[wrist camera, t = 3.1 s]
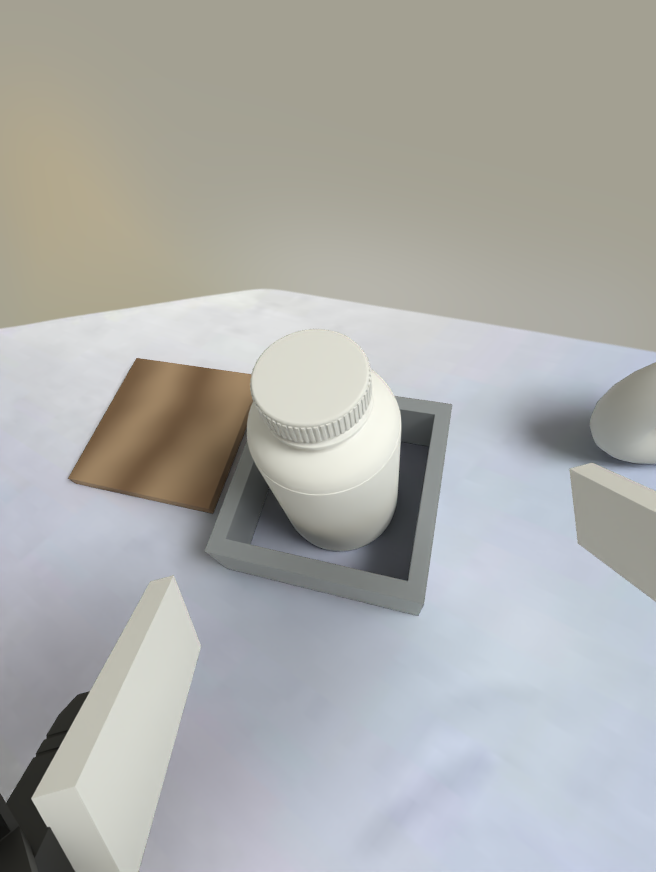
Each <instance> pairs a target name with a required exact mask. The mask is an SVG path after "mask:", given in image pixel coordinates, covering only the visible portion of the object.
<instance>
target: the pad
mask: <svg viewBox="0 0 656 872" xmlns="http://www.w3.org/2000/svg"><path fill="white" fill-rule="evenodd" d="M250 379H251V374H245V373H238V372H231V371H224V370H217V369H210V368H203V367H196V366H189V365H182V364H175V363H168V362H161V361H154V360H147V359H140V358H136V360H135V362H134V363H133V365H132V367H131V369H130V371H129V372H128V374H127V376H126V378H125V379H124V381H123V383H122V385H121V386H120V388H119V390H118V392H117V393H116V395H115V397H114V399H113V400H112V402H111V404H110V406H109V407H108V409H107V411H106V413H105V414H104V416H103V418H102V420H101V421H100V423H99V425H98V427H97V428H96V430H95V432H94V434H93V435H92V437H91V439H90V441H89V442H88V444H87V446H86V448H85V449H84V451H83V453H82V455H81V456H80V458H79V460H78V462H77V463H76V465H75V467H74V469H73V470H72V472H71V474H70V476H69V477H68V479H70V480H71V481H73V482H74V483H76V484H80V485H85V486H89V487H94V488H98V489H103V490H108V491H112V492H117V493H121V494H126V495H130V496H135V497H139V498H144V499H148V500H153V501H158V502H162V503H167V504H171V505H176V506H180V507H185V508H189V509H194V510H198V511H203V512H208V513H212V514H213V513H214V510H215V507H216V505H217V502H218V500H219V497H220V495H221V492H222V489H223V487H224V484H225V482H226V479H227V477H228V474H229V471H230V469H231V466H232V464H233V461H234V458H235V456H236V453H237V451H238V448H239V446H240V443H241V440H242V438H243V435H244V433H245V430H246V428H247V421H248V415H249V411H250V408H251V405H252V403H253V399H252V396H251V391H250V382H251V381H250Z"/></svg>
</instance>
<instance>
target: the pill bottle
mask: <svg viewBox="0 0 656 872" xmlns="http://www.w3.org/2000/svg"><path fill="white" fill-rule="evenodd" d="M250 381H251V382H250V391H251V396H252V399H253V403H252V405H251V408H250V411H249V415H248V421H247V442H248V447H249V450H250V453H251V456H252V458H253V460H254V462H255V464H256V466H257V468H258V469H259V471H260V472H261V474H262V476H263V477H264V479H265V481H266V482H267V484H268V486H269V487H270V489H271V490H272V492H273V494H274V495H275V497H276V499H277V500H278V502H279V504H280V505H281V507H282V508H283V510H284V512H285V513H286V515H287V517H288V518H289V520H290V522H291V523H292V525H293V526H294V528H295V529H296V530H297V531H298V533H299V534H300V535H302V536H303V537H304V538H305V539H306V540H308V541H309V542H310V543H312V544H314V545H316V546H318V547H320V548H323V549H327V550H332V551H349V550H354V549H358V548H360V547H363V546H365V545H367V544H369V543H371V542H372V541H374V540H375V539H376V538H378V537H379V536H380V535H381V534H382V533H383V532H384V530H385V529H386V528H387V526H388V525H389V523H390V521H391V519H392V517H393V515H394V512H395V509H396V505H397V496H398V479H399V461H400V444H401V415H400V410H399V406H398V403H397V401H396V398H395V396H394V395H393V393H392V391H391V389H390V388H389V386H388V385H387V384H386V382H385V381H384V380H383V379H382V378H381V377H380V376H379V375H378V374H377V373H376V372H374V371H373V370H372V369H371V368H370V364H369V362H368V358H367V357H366V354H365V353H364V351H363V350H362V349H361V347H360V346H359V345H357V343H356V342H354V341H353V340H351V339H350V338H348V337H347V336H345V335H343V334H340V333H338V332H334V331H330V330H324V329H309V330H303V331H298V332H295V333H292V334H289V335H287V336H285V337H283V338H281V339H279V340H277V341H276V342H274V343H273V344H272V345H270V346H269V347H268V348H267V349H266V350H265V351H264V352H263V353H262V355H261V356H260V357H259V359H258V360H257V362H256V364H255V366H254V368H253V372H252V374H251V379H250Z"/></svg>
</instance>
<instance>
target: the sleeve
mask: <svg viewBox="0 0 656 872" xmlns="http://www.w3.org/2000/svg"><path fill="white" fill-rule="evenodd" d="M395 398H396V401H397V403H398V406H399V410H400V415H401V442H406V443H412V444H418V445H424V446H429V450H428V456H427V462H426V469H425V475H424V481H423V487H422V493H421V499H420V506H419V512H418V518H417V524H416V530H415V536H414V543H413V549H412V555H411V561H410V567H409V573H408V580H407V581H405V580H401V579H397V578H392V577H388V576H384V575H379V574H375V573H371V572H366V571H362V570H358V569H353V568H349V567H345V566H340V565H336V564H332V563H328V562H323V561H319V560H315V559H310V558H306V557H302V556H297V555H293V554H289V553H284V552H280V551H276V550H271V549H267V548H263V547H259V546H254V545H250V544H251V541H252V538H253V535H254V532H255V529H256V526H257V523H258V520H259V517H260V514H261V511H262V508H263V505H264V502H265V499H266V496H267V493H268V490H269V486H268V484H267V482H266V481H265V479H264V477H263V476H262V474H261V472H260V471H259V469H258V468H257V466H256V464H255V462H254V460H253V458H252V456H251V453H250V450H249V447H248V442H247V441H246V444H245V447H244V449H243V452H242V454H241V457H240V460H239V462H238V465H237V468H236V470H235V473H234V475H233V478H232V481H231V483H230V486H229V488H228V491H227V494H226V496H225V499H224V502H223V504H222V507H221V509H220V512H219V515H218V517H217V520H216V523H215V525H214V528H213V530H212V533H211V536H210V538H209V541H208V543H207V546H206V549H205V552H206V553H207V554H209V555H210V556H211V557H213V558H214V559H215V560H217V561H218V562H219V563H221V564H222V565H223V566H225V567H226V568H227V569H231V570H235V571H239V572H243V573H247V574H251V575H255V576H259V577H263V578H267V579H271V580H275V581H279V582H283V583H287V584H291V585H295V586H299V587H303V588H308V589H312V590H316V591H320V592H324V593H328V594H332V595H336V596H340V597H344V598H348V599H352V600H356V601H360V602H364V603H368V604H372V605H376V606H380V607H384V608H388V609H392V610H396V611H400V612H404V613H409V614H413V615H417V616H418V615H419V613H420V611H421V609H422V607H423V605H424V600H425V593H426V586H427V579H428V572H429V565H430V558H431V551H432V544H433V537H434V530H435V523H436V516H437V508H438V501H439V494H440V487H441V480H442V473H443V466H444V459H445V452H446V445H447V438H448V431H449V424H450V417H451V410H452V404H447V403H440V402H433V401H426V400H419V399H412V398H405V397H398V396H395Z"/></svg>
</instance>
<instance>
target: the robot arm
mask: <svg viewBox="0 0 656 872" xmlns="http://www.w3.org/2000/svg"><path fill="white" fill-rule="evenodd" d="M570 478H571V487H572V496H573V505H574V513H575V522H576V531H577V540H578V544H579V545H581V546H582V547H583V548H585V549H586V550H587V551H589V552H590V553H591V554H593V555H594V556H595V557H597V558H598V559H599V560H601V561H602V562H603V563H605V564H606V565H607V566H609V567H610V568H611V569H613V570H614V571H615V572H617V573H618V574H619V575H621V576H622V577H623V578H625V579H626V580H627V581H629V582H630V583H631V584H633V585H634V586H635V587H637V588H638V589H639V590H641V591H642V592H643V593H645V594H646V595H647V596H649V597H650V598H651V599H653V600H654V601H655V602H656V491H654V490H652V489H650V488H647V487H645V486H643V485H641V484H639V483H636V482H634V481H632V480H630V479H627V478H625V477H623V476H621V475H618V474H616V473H614V472H612V471H610V470H607V469H605V468H603V467H601V466H598V465H596V464H594V463H589V464H585V465H582V466H578V467H574V468H570ZM200 649H201V644H200V642H199V639H198V637H197V634H196V631H195V629H194V626H193V624H192V621H191V619H190V616H189V613H188V611H187V608H186V606H185V603H184V600H183V598H182V595H181V593H180V590H179V587H178V585H177V582H176V580H175V577H174V575H173V576H169V577H165V578H162V579H158V580H154V581H151V582H150V583H149V585H148V587H147V588H146V590H145V592H144V594H143V596H142V598H141V599H140V601H139V603H138V605H137V607H136V608H135V610H134V612H133V614H132V616H131V618H130V619H129V621H128V623H127V625H126V627H125V628H124V630H123V632H122V634H121V636H120V638H119V639H118V641H117V643H116V645H115V647H114V649H113V650H112V652H111V654H110V656H109V658H108V659H107V661H106V663H105V665H104V667H103V669H102V670H101V672H100V674H99V676H98V678H97V680H96V681H95V683H94V685H93V687H92V689H91V690H90V691H89V692H86V693H82V694H79V695H77V696H76V697H75V698H74V699H73V700H72V701H71V702H70V703H69V705H68V706H67V707H66V708H65V709H64V710H63V711H62V712H61V713H60V714H59V715H58V717H57V719H56V720H55V722H54V724H53V726H52V727H51V729H50V731H49V732H48V734H47V739H45V740H44V741H43V742H42V744H41V746H40V747H39V749H38V751H37V752H36V757H34V758H33V759H32V761H31V762H30V764H29V766H28V767H27V769H26V771H25V773H24V774H23V776H22V778H21V779H20V781H19V783H18V784H17V786H16V788H15V789H14V791H13V793H12V794H11V796H10V798H9V799H8V801H7V803H5V801H4V799H3V797H2V796H1V794H0V872H139V868H140V865H141V861H142V858H143V854H144V850H145V847H146V843H147V840H148V836H149V832H150V829H151V825H152V822H153V818H154V814H155V811H156V807H157V804H158V800H159V796H160V793H161V789H162V786H163V782H164V778H165V775H166V771H167V768H168V764H169V760H170V757H171V753H172V750H173V746H174V742H175V739H176V735H177V732H178V728H179V724H180V721H181V717H182V714H183V710H184V706H185V703H186V699H187V696H188V692H189V688H190V685H191V681H192V678H193V674H194V670H195V667H196V663H197V660H198V656H199V652H200Z"/></svg>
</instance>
